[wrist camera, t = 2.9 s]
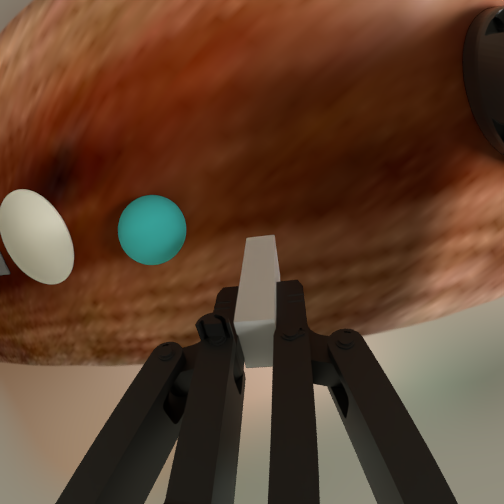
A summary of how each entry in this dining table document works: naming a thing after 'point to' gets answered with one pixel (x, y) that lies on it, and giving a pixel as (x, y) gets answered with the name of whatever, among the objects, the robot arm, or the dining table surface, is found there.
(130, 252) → the ball
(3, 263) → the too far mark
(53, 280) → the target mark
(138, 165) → the dining table surface
